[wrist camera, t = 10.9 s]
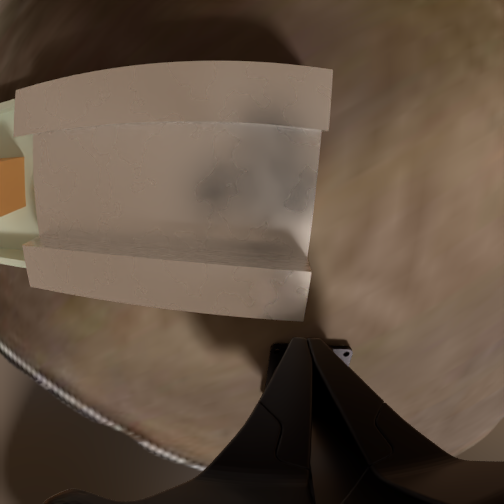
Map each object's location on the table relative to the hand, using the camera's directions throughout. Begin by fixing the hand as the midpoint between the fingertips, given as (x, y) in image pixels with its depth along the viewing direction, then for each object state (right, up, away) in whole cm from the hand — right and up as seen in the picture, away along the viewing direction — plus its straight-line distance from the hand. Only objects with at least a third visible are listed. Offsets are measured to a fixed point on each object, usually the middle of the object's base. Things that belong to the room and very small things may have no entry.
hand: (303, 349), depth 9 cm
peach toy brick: (-19, +8, +8) cm, 23 cm away
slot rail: (-7, +8, +10) cm, 15 cm away
